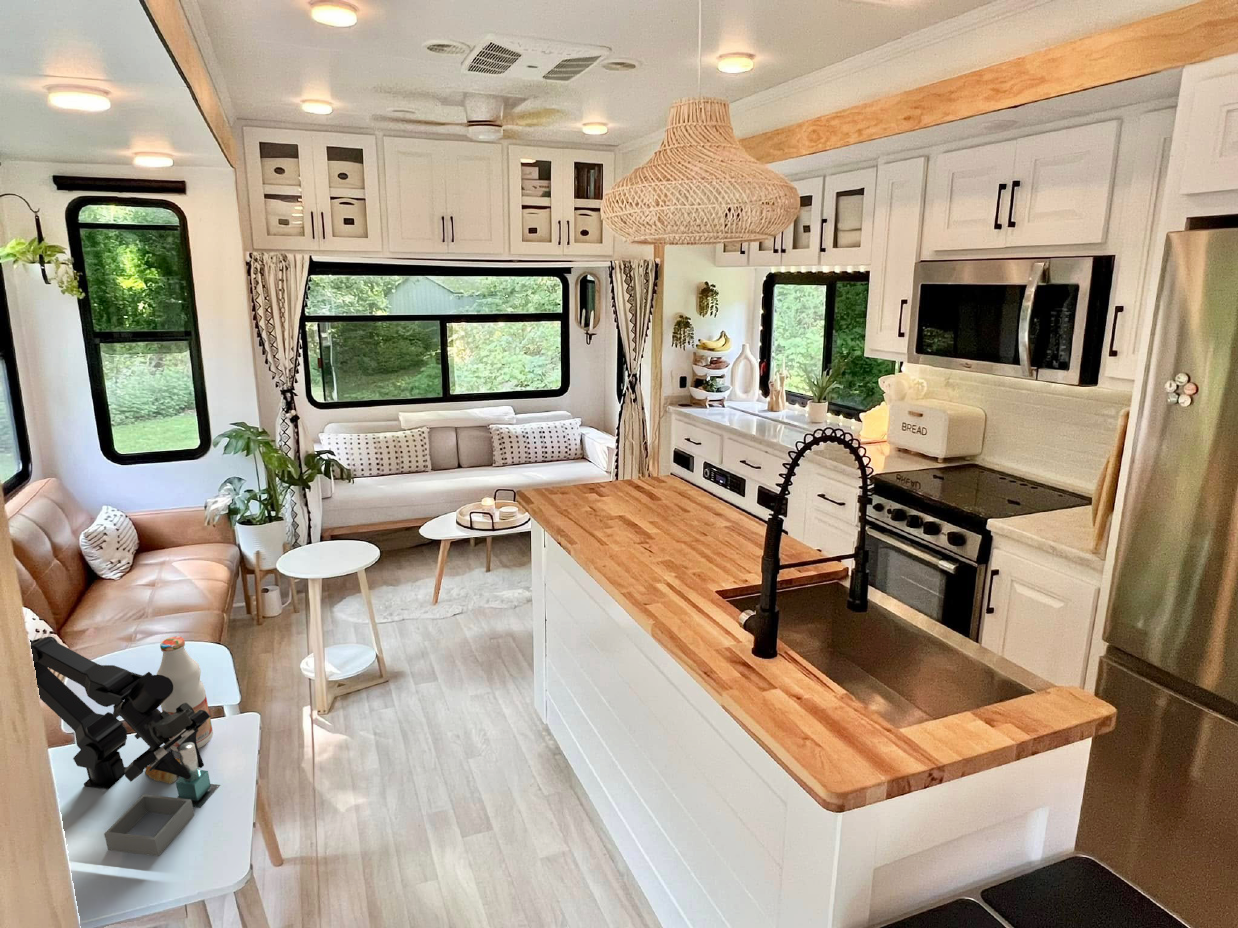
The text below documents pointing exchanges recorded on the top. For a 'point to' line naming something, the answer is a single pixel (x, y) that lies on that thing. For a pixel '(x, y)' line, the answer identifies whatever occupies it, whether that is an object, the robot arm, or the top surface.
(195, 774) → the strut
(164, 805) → the bin
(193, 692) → the fruit juice
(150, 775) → the pastry
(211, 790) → the stud stand
